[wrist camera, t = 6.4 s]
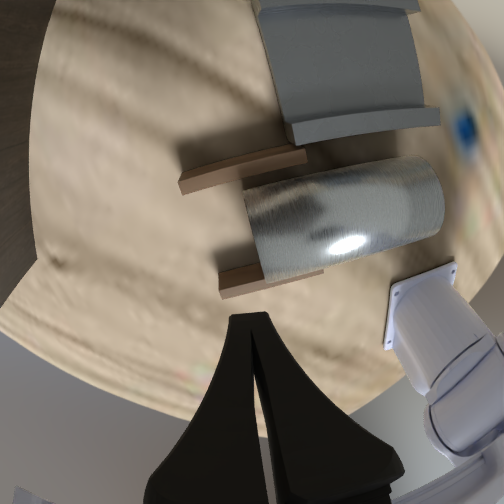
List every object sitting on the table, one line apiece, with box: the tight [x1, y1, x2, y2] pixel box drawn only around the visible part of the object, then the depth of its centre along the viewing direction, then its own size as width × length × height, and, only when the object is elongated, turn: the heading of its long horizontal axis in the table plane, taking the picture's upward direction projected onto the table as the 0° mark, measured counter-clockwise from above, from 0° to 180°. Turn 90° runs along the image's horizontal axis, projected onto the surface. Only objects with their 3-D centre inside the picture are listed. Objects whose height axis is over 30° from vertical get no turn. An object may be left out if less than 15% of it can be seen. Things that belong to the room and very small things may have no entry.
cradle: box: [251, 0, 441, 146], centre depth 12 cm, size 9×10×2 cm
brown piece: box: [178, 143, 324, 300], centre depth 17 cm, size 8×7×2 cm
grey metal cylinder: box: [242, 155, 445, 284], centre depth 16 cm, size 11×5×5 cm, turn 104°
